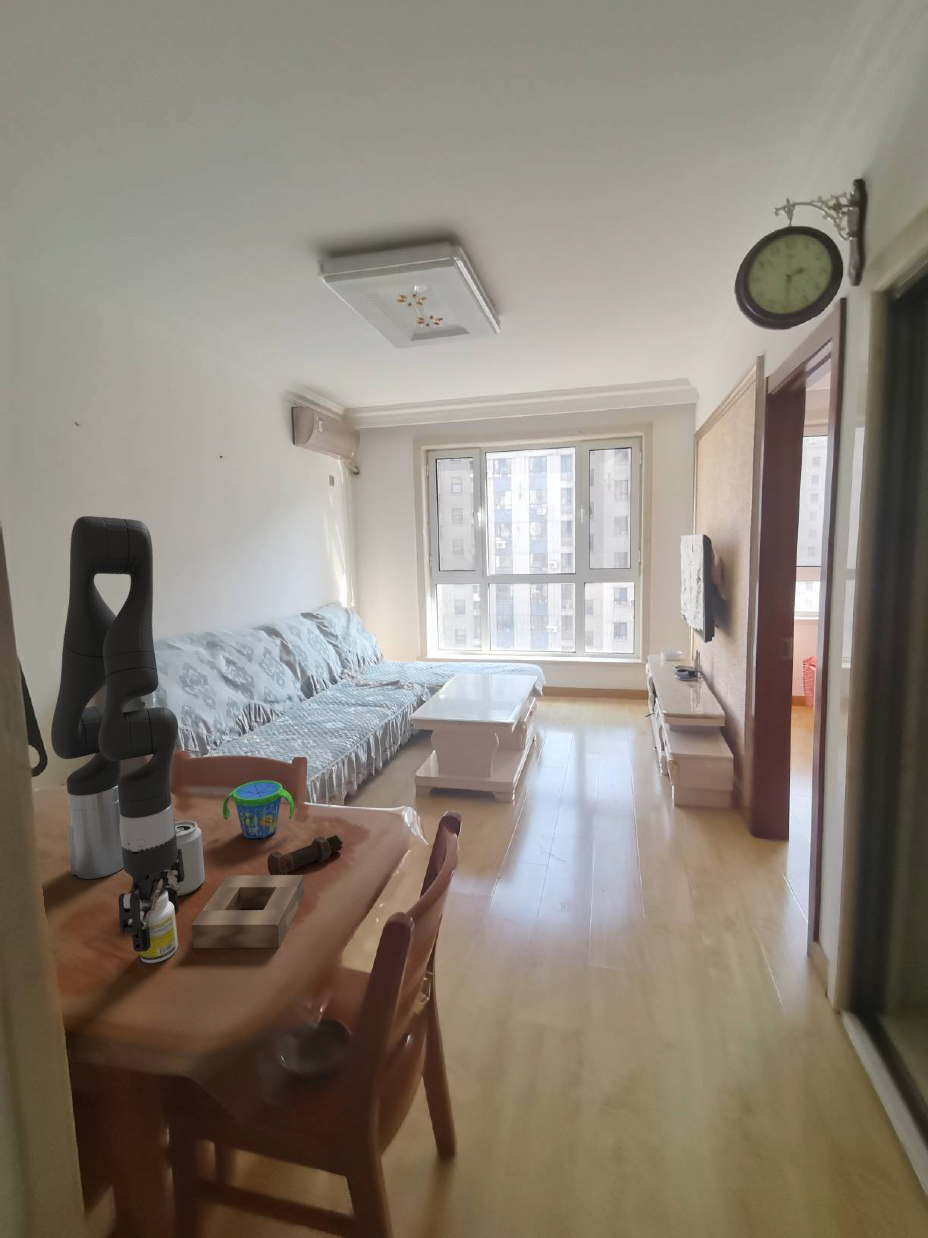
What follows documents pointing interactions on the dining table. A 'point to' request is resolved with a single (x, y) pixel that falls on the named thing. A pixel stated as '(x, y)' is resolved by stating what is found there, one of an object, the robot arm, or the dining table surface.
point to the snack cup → (258, 807)
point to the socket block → (249, 912)
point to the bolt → (303, 855)
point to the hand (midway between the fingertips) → (157, 931)
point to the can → (190, 855)
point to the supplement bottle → (161, 931)
